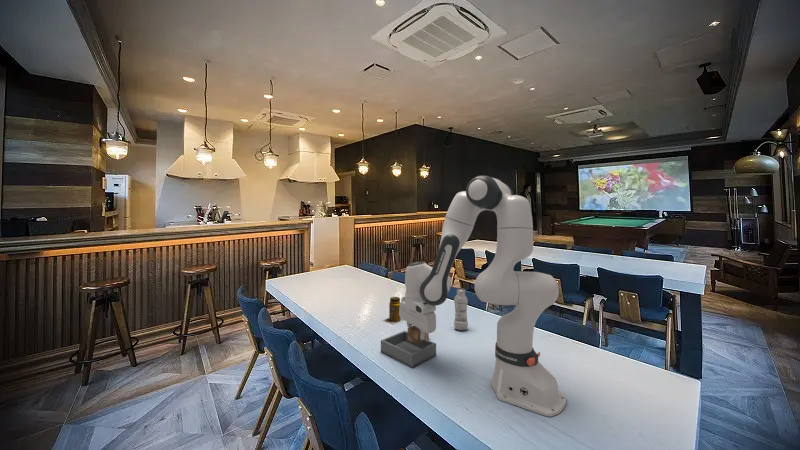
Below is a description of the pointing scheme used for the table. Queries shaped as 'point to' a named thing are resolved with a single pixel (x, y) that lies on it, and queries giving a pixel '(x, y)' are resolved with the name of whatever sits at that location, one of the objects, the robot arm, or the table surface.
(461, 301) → the plastic bottle
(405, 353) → the tote
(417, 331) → the walnut cube
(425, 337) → the terracotta cylinder
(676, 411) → the table surface
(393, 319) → the condiment
